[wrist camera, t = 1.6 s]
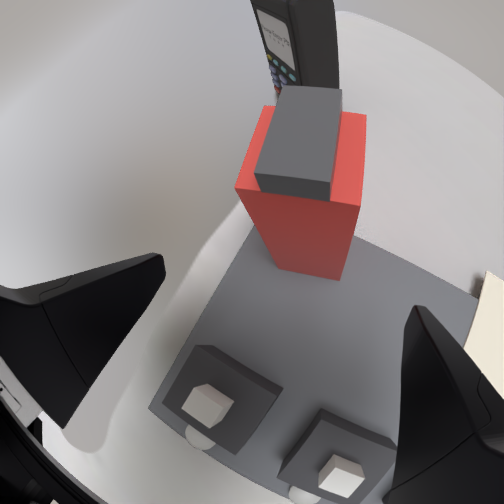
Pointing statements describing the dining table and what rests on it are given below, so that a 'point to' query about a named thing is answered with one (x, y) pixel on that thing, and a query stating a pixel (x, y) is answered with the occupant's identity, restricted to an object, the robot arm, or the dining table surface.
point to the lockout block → (305, 179)
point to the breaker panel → (315, 369)
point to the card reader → (299, 41)
